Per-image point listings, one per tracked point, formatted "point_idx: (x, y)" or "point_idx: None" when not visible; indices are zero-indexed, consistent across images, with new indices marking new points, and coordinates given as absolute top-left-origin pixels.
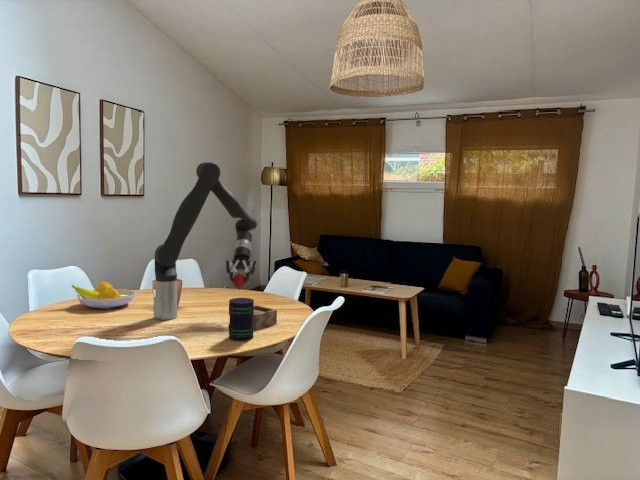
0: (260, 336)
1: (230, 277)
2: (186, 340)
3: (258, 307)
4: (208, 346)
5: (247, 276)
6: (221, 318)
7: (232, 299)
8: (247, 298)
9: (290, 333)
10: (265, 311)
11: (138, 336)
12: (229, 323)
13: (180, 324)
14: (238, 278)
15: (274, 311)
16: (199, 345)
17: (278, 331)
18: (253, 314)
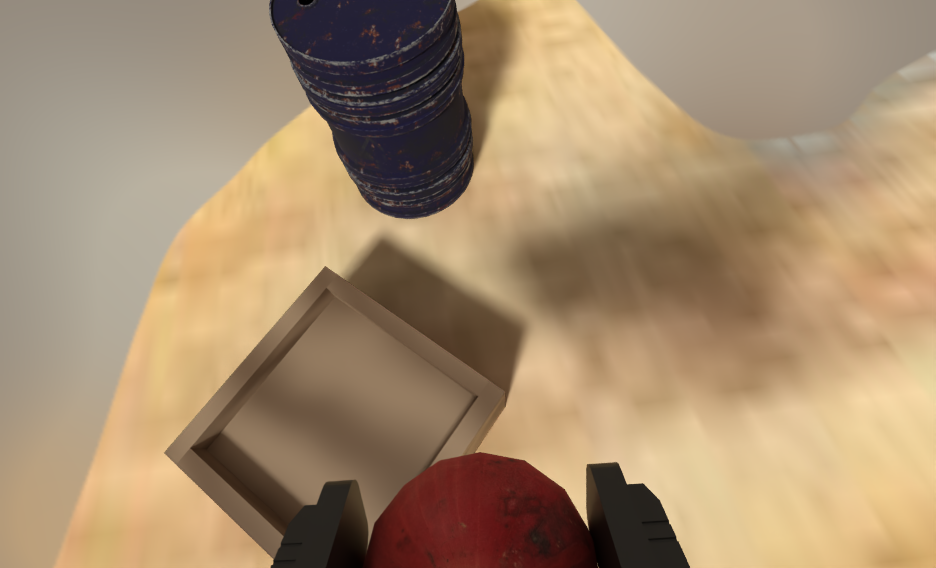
0: (322, 193)
1: (645, 507)
2: (656, 92)
3: None
4: (527, 45)
5: (302, 557)
6: None
7: (437, 14)
8: (323, 61)
9: (168, 260)
10: (268, 497)
11: (926, 105)
12: (466, 113)
13: (858, 342)
14: (476, 472)
15: (190, 430)
16: (569, 49)
17: (228, 285)
18: (342, 283)
